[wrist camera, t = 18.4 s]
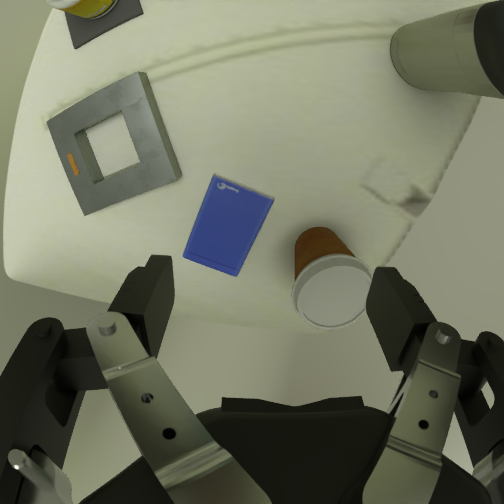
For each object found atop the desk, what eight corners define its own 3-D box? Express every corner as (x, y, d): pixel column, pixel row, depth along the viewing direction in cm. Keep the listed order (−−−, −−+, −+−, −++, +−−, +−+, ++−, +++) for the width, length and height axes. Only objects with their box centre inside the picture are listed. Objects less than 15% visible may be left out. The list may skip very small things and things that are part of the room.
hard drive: (213, 175, 37) (181, 257, 43) (274, 200, 39) (237, 277, 44) (214, 172, 39) (184, 251, 44) (274, 196, 40) (237, 271, 46)
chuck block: (146, 72, 32) (137, 71, 29) (182, 174, 38) (176, 181, 35) (58, 118, 34) (45, 122, 31) (94, 207, 40) (84, 216, 37)
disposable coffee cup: (297, 206, 40) (314, 250, 30) (361, 227, 42) (393, 274, 31) (273, 267, 45) (279, 323, 34) (333, 283, 46) (353, 339, 35)
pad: (126, -41, 23) (124, -43, 23) (143, 13, 28) (141, 12, 27) (62, -6, 25) (60, -6, 24) (76, 48, 29) (74, 48, 29)
